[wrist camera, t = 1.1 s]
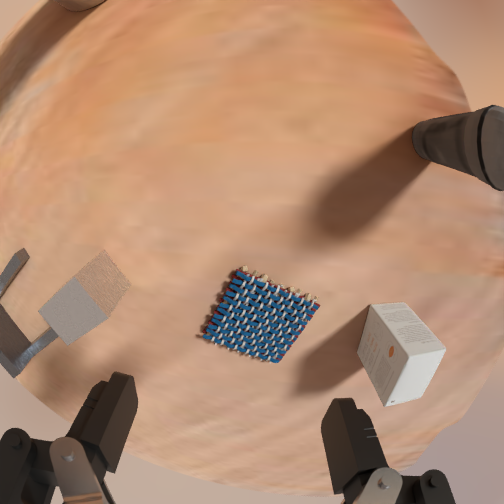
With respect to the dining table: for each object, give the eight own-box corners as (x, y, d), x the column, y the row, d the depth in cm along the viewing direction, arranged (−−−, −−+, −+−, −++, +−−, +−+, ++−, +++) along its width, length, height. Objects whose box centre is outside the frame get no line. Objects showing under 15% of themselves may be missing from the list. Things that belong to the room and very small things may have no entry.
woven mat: (277, 358, 35) (279, 369, 33) (201, 331, 33) (199, 341, 31) (321, 296, 32) (326, 305, 30) (238, 259, 29) (238, 267, 28)
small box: (389, 348, 35) (421, 399, 25) (355, 352, 35) (383, 409, 25) (405, 300, 32) (448, 348, 22) (369, 302, 32) (409, 357, 22)
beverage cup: (401, 169, 26) (560, 220, 7) (400, 104, 23) (561, 94, 5) (447, 173, 26) (585, 222, 8) (447, 115, 24) (588, 126, 5)
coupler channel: (-13, 303, 30) (-35, 323, 23) (23, 247, 27) (-8, 268, 21) (29, 356, 34) (11, 381, 27) (76, 319, 31) (53, 350, 24)
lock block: (65, 283, 29) (36, 312, 23) (104, 248, 28) (74, 276, 21) (90, 313, 31) (66, 346, 24) (131, 283, 29) (108, 318, 23)
